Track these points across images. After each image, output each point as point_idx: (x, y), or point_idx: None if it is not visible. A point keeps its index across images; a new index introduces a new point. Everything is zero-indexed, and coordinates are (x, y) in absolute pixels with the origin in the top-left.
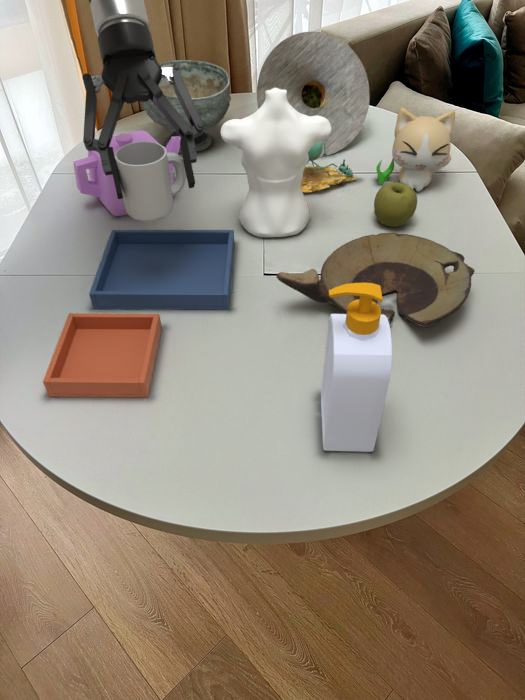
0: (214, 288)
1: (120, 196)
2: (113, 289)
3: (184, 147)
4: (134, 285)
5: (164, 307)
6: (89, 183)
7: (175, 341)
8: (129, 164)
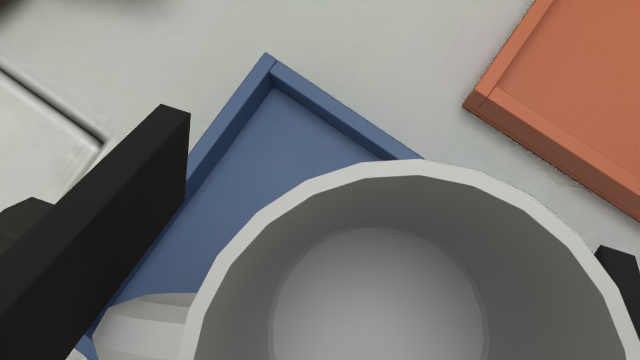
0: (261, 157)
1: None
2: None
3: (42, 252)
4: None
5: None
6: None
7: (452, 45)
8: (575, 257)
